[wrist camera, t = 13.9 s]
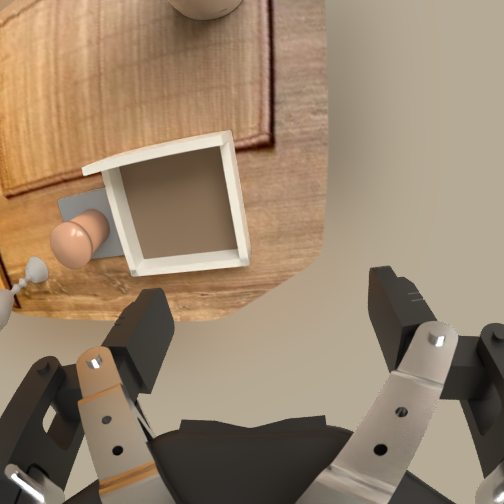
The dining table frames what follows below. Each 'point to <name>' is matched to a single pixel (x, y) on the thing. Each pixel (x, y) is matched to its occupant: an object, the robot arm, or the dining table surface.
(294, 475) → the robot arm
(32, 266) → the chalice
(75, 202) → the slate tile
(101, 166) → the drawer
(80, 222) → the tan capped cylinder
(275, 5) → the dining table surface
